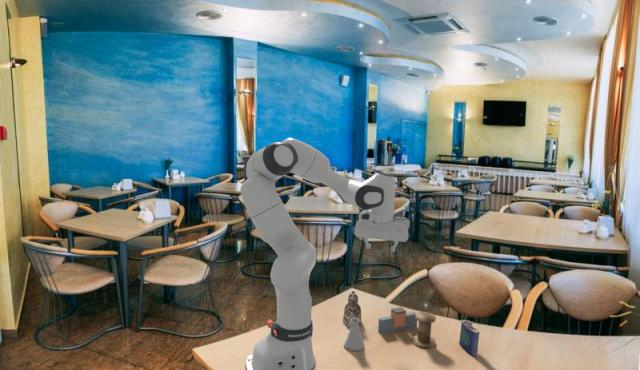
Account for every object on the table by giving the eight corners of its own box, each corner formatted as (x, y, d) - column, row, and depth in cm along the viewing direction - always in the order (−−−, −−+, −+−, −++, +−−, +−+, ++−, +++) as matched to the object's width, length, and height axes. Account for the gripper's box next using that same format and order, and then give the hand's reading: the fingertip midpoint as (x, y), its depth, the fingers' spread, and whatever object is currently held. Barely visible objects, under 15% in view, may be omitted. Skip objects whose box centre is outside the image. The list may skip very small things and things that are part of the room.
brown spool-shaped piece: (420, 350, 144) (422, 323, 143) (408, 338, 152) (409, 313, 150) (439, 346, 147) (441, 319, 146) (426, 335, 155) (428, 309, 153)
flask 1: (340, 348, 144) (341, 321, 143) (348, 338, 151) (349, 313, 149) (359, 354, 141) (361, 327, 140) (367, 344, 148) (368, 318, 146)
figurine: (341, 325, 161) (342, 295, 159) (344, 316, 167) (345, 288, 165) (359, 327, 159) (361, 298, 157) (362, 319, 166) (363, 290, 164)
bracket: (380, 334, 154) (381, 320, 154) (378, 331, 156) (378, 318, 155) (416, 327, 160) (417, 313, 159) (414, 325, 162) (415, 311, 161)
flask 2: (478, 356, 142) (481, 327, 140) (471, 357, 141) (473, 328, 139) (463, 342, 150) (466, 314, 149) (456, 343, 150) (458, 315, 148)
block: (394, 327, 156) (395, 312, 155) (390, 323, 159) (391, 308, 158) (405, 325, 157) (406, 310, 156) (400, 321, 160) (401, 307, 159)
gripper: (410, 215, 158) (408, 250, 160) (358, 211, 164) (356, 244, 166) (409, 219, 152) (407, 255, 154) (354, 214, 158) (353, 249, 160)
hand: (380, 250), depth 160 cm, fingers open, 8 cm apart
